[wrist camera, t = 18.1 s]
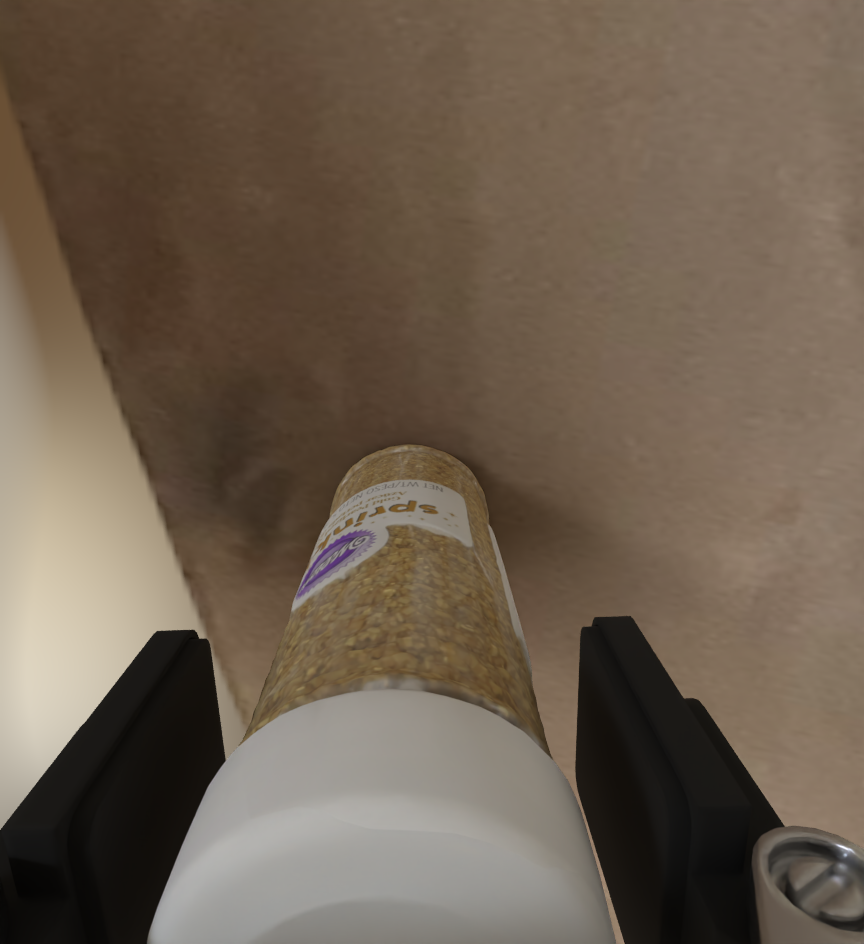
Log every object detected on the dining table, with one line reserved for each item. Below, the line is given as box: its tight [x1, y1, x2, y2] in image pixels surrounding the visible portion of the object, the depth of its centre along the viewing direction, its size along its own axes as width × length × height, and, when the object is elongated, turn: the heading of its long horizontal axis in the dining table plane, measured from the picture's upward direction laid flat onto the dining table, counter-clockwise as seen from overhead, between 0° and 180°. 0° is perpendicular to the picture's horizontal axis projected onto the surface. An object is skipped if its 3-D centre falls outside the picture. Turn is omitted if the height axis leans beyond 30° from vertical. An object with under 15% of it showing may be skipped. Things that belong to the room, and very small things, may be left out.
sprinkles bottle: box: [147, 444, 616, 944], centre depth 12 cm, size 5×5×13 cm
